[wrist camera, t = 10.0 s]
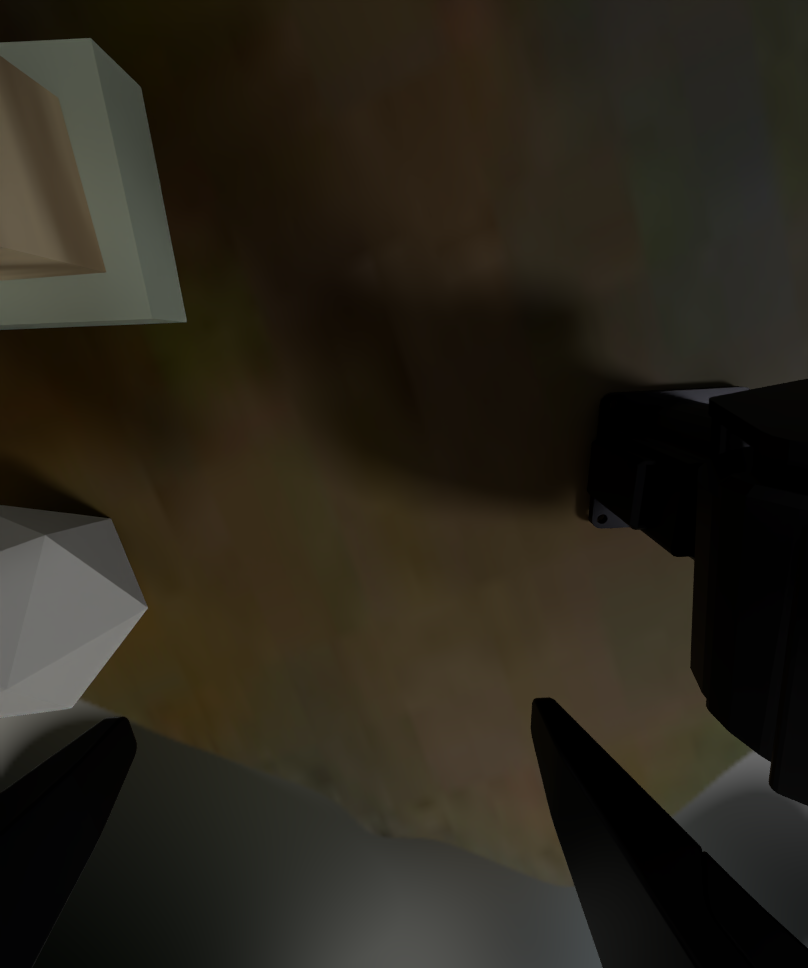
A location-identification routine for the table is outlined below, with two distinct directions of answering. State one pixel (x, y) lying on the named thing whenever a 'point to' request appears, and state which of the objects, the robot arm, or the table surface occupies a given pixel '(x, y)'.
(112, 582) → the die
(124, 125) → the foundation slab
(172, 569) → the table surface
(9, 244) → the maple cube
